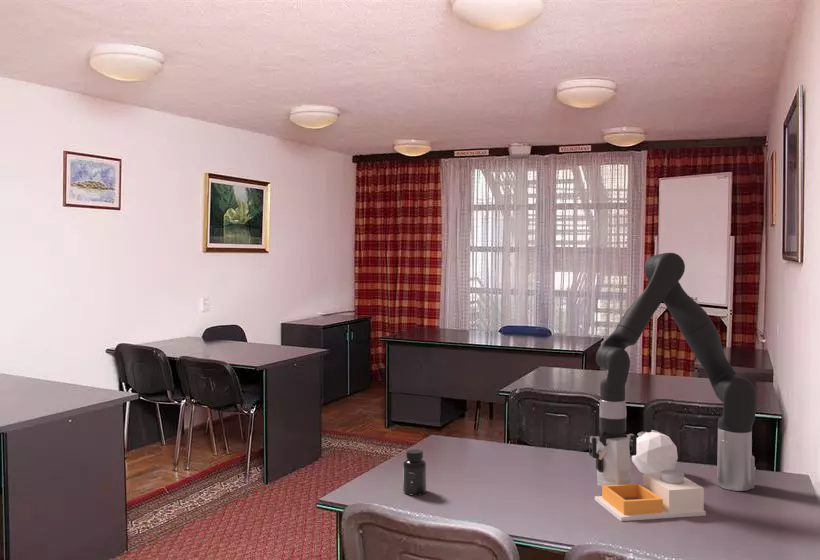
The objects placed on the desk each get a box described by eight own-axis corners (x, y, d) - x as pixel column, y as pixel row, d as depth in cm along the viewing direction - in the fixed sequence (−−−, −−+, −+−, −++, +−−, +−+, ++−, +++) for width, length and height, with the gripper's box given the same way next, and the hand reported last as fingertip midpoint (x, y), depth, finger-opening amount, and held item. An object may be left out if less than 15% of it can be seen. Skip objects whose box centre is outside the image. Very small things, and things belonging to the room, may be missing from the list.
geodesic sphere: (623, 461, 211) (652, 425, 210) (614, 449, 225) (642, 415, 224) (663, 492, 210) (693, 456, 209) (652, 478, 224) (680, 444, 223)
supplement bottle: (398, 493, 200) (398, 452, 200) (409, 486, 206) (409, 446, 206) (419, 497, 197) (419, 455, 197) (430, 490, 203) (430, 449, 203)
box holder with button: (673, 495, 199) (673, 464, 198) (705, 515, 183) (706, 481, 183) (594, 499, 195) (594, 468, 195) (621, 521, 179) (621, 486, 179)
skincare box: (631, 488, 200) (631, 437, 200) (617, 493, 197) (617, 441, 196) (608, 481, 207) (608, 432, 207) (595, 485, 204) (594, 435, 203)
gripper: (629, 410, 206) (629, 465, 207) (584, 413, 204) (584, 468, 204) (642, 416, 199) (642, 473, 199) (595, 419, 196) (595, 476, 197)
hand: (612, 470), depth 202 cm, fingers closed on skincare box, 7 cm apart
